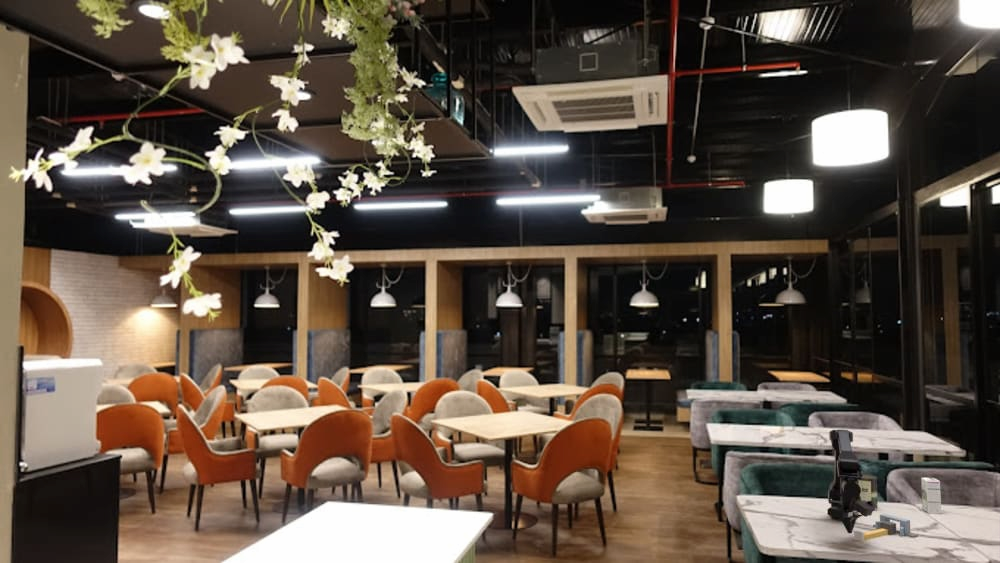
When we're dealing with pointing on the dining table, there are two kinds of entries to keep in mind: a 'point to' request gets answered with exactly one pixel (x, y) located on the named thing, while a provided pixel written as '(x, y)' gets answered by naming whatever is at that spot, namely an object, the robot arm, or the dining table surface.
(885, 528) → the yellow handled hammer
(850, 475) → the robot arm
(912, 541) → the dining table surface
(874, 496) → the coffee can
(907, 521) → the blue-grey bracket
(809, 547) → the dining table surface
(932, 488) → the syrup box
